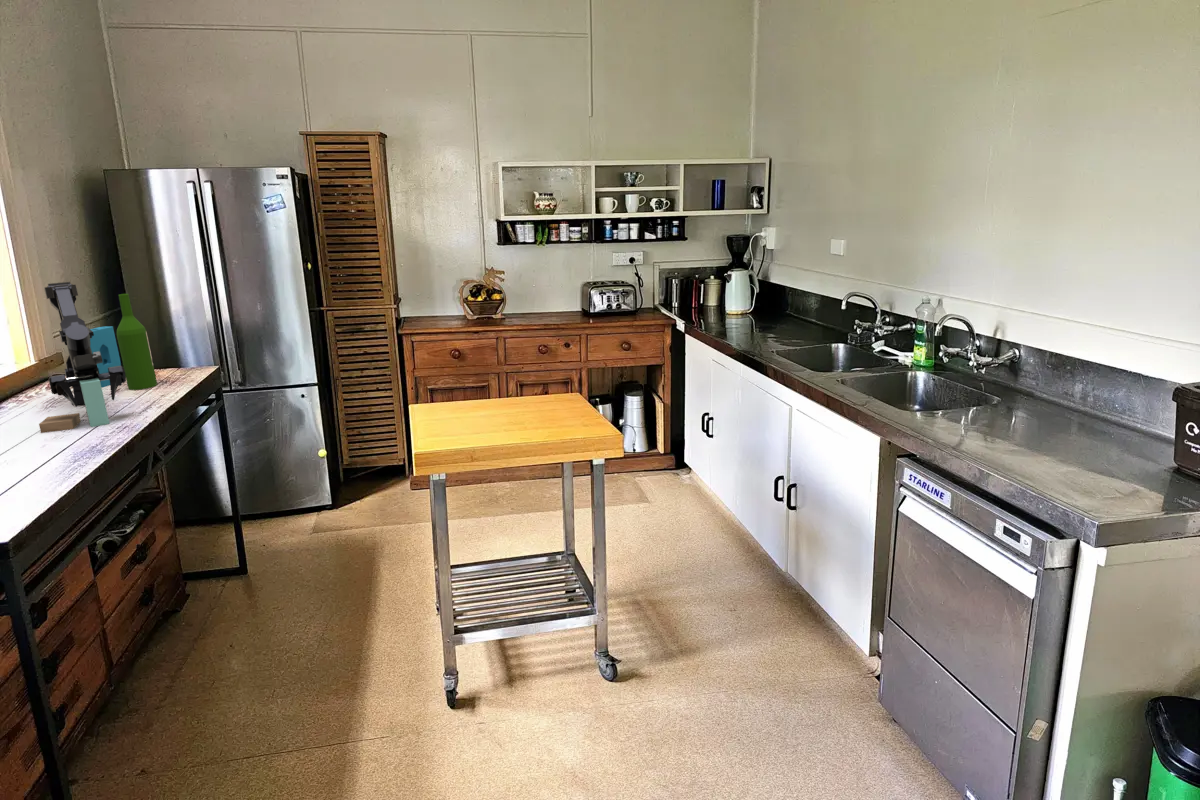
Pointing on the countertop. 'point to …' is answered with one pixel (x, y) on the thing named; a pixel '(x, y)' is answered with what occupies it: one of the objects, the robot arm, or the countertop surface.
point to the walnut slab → (60, 423)
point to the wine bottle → (134, 349)
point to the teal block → (94, 402)
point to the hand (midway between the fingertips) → (95, 402)
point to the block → (105, 350)
